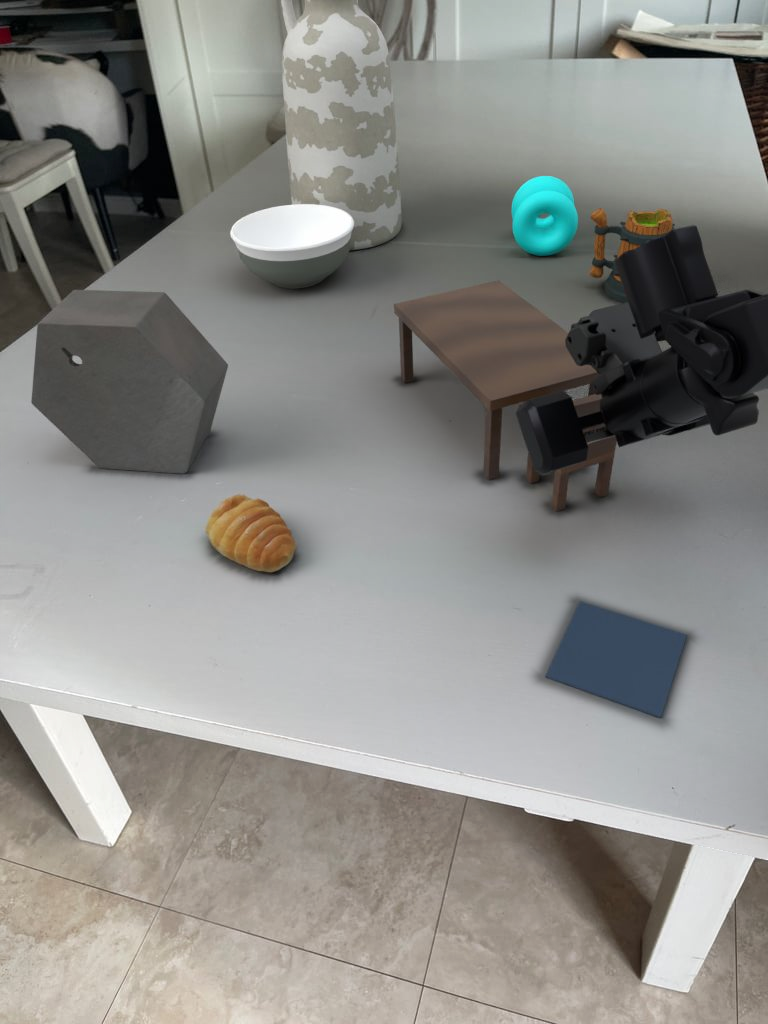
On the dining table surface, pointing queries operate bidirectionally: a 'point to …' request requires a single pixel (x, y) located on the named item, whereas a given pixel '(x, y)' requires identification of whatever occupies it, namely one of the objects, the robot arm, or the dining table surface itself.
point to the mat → (618, 658)
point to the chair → (596, 454)
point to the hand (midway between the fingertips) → (579, 434)
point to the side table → (491, 350)
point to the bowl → (294, 243)
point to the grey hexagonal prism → (127, 379)
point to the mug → (626, 242)
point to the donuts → (548, 231)
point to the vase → (341, 117)
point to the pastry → (251, 534)
